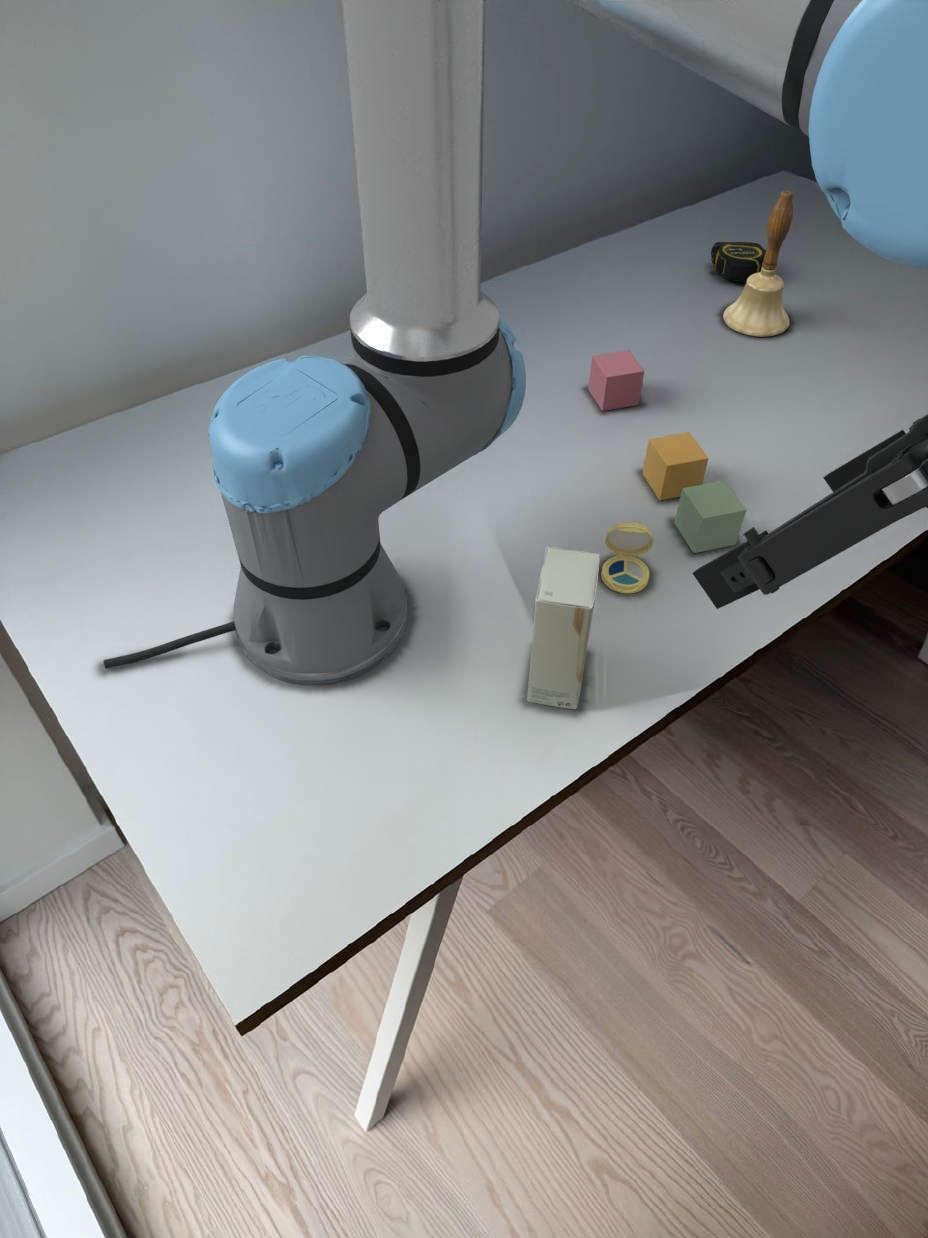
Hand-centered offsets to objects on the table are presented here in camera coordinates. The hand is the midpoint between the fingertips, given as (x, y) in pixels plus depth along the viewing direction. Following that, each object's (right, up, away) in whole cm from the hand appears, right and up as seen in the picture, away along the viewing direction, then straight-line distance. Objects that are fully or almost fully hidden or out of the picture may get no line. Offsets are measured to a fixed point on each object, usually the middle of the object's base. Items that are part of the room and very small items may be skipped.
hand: (775, 537), depth 58 cm
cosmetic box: (-12, -10, +18) cm, 24 cm away
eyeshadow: (-5, -1, +26) cm, 27 cm away
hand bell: (+17, +33, +57) cm, 68 cm away
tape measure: (+17, +42, +65) cm, 79 cm away
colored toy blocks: (0, +12, +37) cm, 39 cm away
